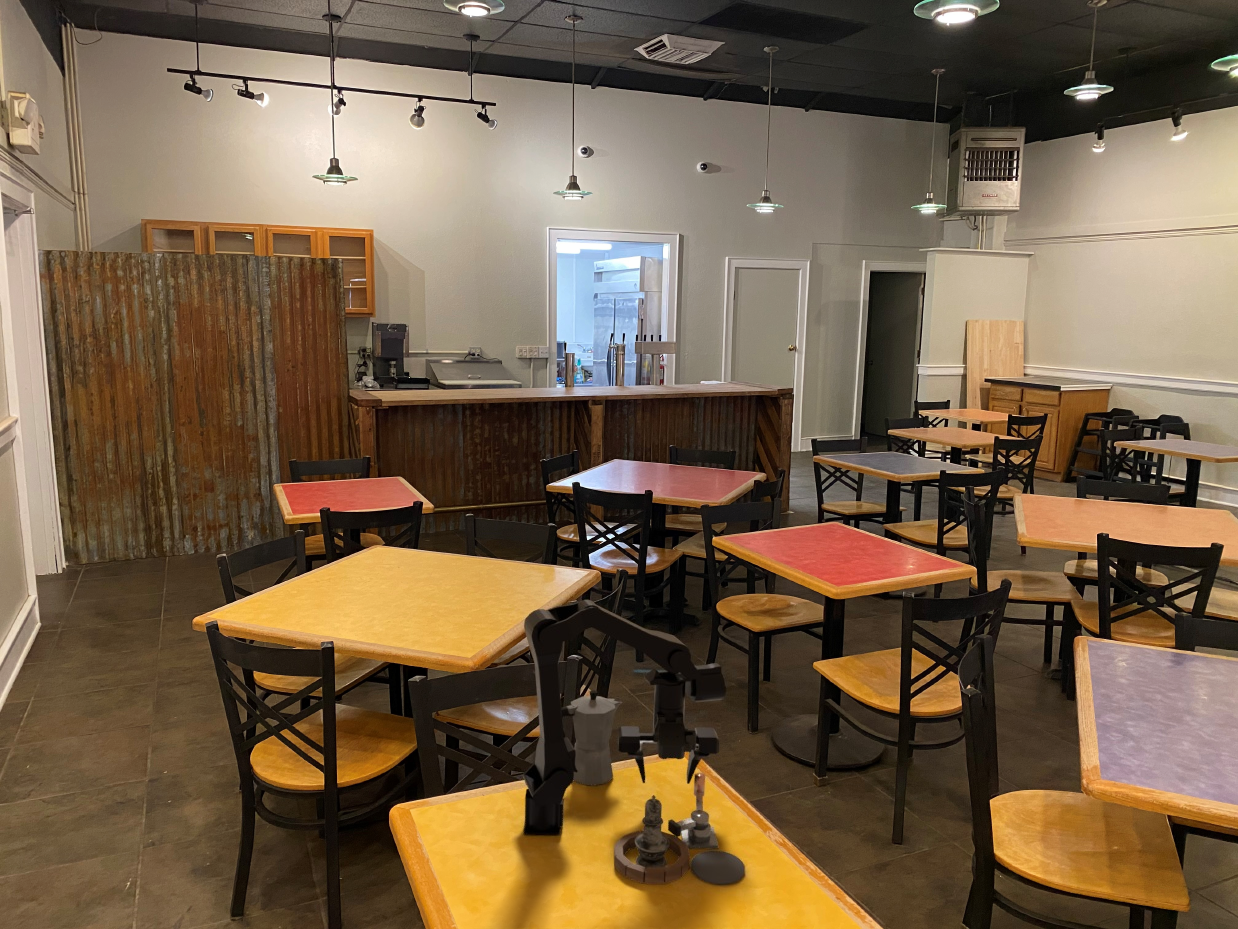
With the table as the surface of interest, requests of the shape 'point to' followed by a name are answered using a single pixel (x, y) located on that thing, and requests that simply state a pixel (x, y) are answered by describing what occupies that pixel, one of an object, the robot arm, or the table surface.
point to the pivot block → (700, 838)
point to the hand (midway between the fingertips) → (666, 782)
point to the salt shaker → (652, 837)
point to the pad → (717, 867)
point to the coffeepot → (592, 737)
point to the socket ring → (651, 873)
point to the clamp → (698, 816)
